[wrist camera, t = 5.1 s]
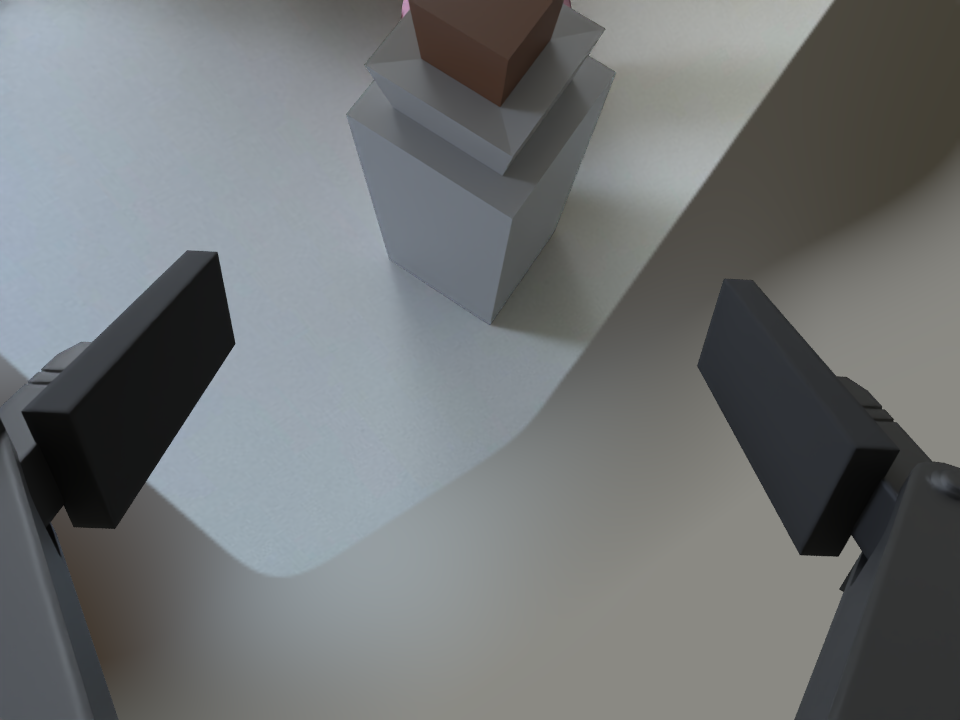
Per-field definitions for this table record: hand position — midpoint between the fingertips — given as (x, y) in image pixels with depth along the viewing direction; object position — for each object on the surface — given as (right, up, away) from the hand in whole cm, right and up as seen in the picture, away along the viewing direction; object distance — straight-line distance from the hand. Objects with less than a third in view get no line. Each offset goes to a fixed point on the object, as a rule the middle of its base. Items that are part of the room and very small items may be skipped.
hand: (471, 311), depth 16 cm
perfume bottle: (0, +5, +18) cm, 19 cm away
